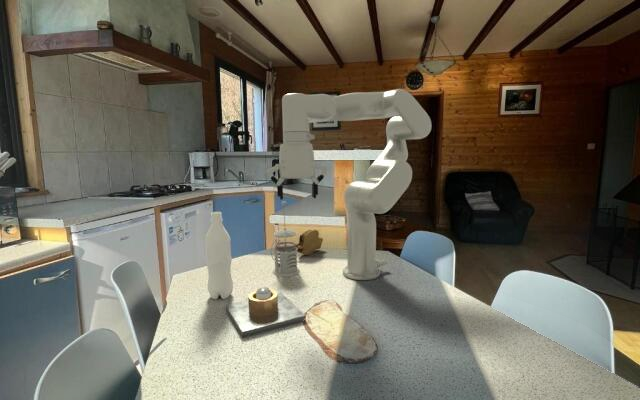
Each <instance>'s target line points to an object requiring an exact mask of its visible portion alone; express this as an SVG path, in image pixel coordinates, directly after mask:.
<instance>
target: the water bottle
mask: <svg viewBox="0 0 640 400" xmlns="http://www.w3.org/2000/svg"><path fill="white" fill-rule="evenodd" d="M222 215H223V214H222V212H221V211H212V212H210V220H209V222H210V227H209V229H208V231H207V233H206V235H205V237H204V246H205V264H206V268H207V271H208V273H207V274H208V279H207V290H208V291H207V292H208V293H209V294H208V295H209V296H210V297H211V299H213V300H218V299H219V296H220V297H221V299H222V300H226V299H227V298H228V297H230V296H231V295H232V293H233V291H234V282H233V277H232V269H231V266H232V259H233V258H232V251H231V250H232V249H231V248H232V247H231V241H232V240H231V237H230V234H229V233H228V231H227V230H226V228H225V226H224V223H223V221H224V219H223V217H222Z"/></svg>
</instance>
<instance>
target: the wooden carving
mask: <svg viewBox="0 0 640 400" xmlns="http://www.w3.org/2000/svg"><path fill="white" fill-rule="evenodd" d="M323 240H324V239H323V238H322V237H320V233H319V230H318V229H308V230H306V231H304V232H303V233H302V234H300V236H299V240H298V243H295V244H296V245H295V247H296V248H297V253H299V254H302V255H304V256H310V255H313V254H314V253H315V252H316V251H317V250H320V249H321V248H322V244H323Z"/></svg>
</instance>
